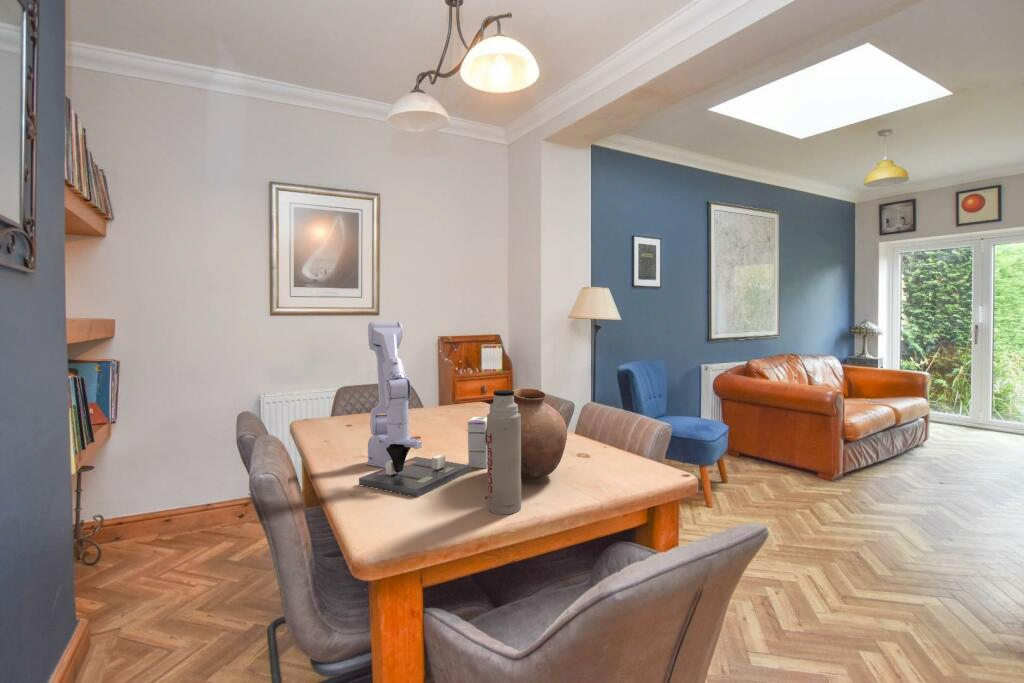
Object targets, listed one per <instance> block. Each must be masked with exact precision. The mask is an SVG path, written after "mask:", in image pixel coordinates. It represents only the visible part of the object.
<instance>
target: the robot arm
mask: <svg viewBox="0 0 1024 683" xmlns="http://www.w3.org/2000/svg"><path fill="white" fill-rule="evenodd" d="M367 325H368V326H367V337H368V339H367V340H368V346H369V350H370V351H373V352H374V353H375V357H376V365H377V368H376V369H377V387H378V404H377V405H376V406H375V407H373V408H372V409H371V411H370V415H369V416H370V417H369V418H370V420H369V426H370V427H369V428H370V430H369V431H370V434H371V436H370V437H369V439H368V441H367V462H366V463H365V464H366V465H367V466H374V467H378V468H382V469H384V468H386V462H389V461H392V462H393V465H394V469H395V472H397V473H398V472H401V471H403V466H404V462H405V461H406V460H407V459H406V458H407V456H408V453H409V452H410V450H411V449H415V450H419V449H422V440H420V439H415V438H413V437H411V436H410V430H409V429H410V428H409V426H410V425H409V424H410V423H409V417H410V416H409V400H410V399H411V393H412V392H411V390H412V388H411V387H412V386H411V382H410V378H409V377H408V375H406V371H405V367H404V362H403V360H402V359H401V358H399V354H398V349H399V348H400V346H401V343H402V340H403V332H404V330H403V324H402V323H401V321H378V322H375V321H374V322H373V321H369V323H368V324H367Z"/></svg>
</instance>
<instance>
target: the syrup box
mask: <svg viewBox="0 0 1024 683" xmlns="http://www.w3.org/2000/svg"><path fill="white" fill-rule="evenodd" d="M486 428H487V416H473V417H472V418H470V419H469V420H467V447H468V448H467V449H468V450H467V452H468V465H470V468H472V467H476V469H487V444H486V441H485V433H486Z"/></svg>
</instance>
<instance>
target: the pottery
mask: <svg viewBox="0 0 1024 683" xmlns="http://www.w3.org/2000/svg"><path fill="white" fill-rule="evenodd" d="M512 391H514V395H513V396H514V403H516V404H517V405H518V413H519V414H521V481H535V480H536V481H537V480H540V479H543V478H546V477H548V476H549V475H551V474H552V473H553V472H554V471H555V470H556V469H557V468H558V466H559V465H560V463H561V461H562V458H563V455H564V451H565V449H566V444H567V439H568V438H567V437H568V428H567V424H566V421H565V419H564V418H563V416H562V415H561V414H560V413H559V412H558V411H557V410H556V409H555V408H554V407H552V405H549V404H548V403H546V402H544V400H545V399H546V398H547V394H546V393H545V392H544V391H542V390H539V389H535V388H529V387H528V388H524V387H523V388H522V387H521V388H515V389H512ZM485 441H486V444H487V428H486V433H485Z"/></svg>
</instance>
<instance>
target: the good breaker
mask: <svg viewBox="0 0 1024 683" xmlns="http://www.w3.org/2000/svg"><path fill="white" fill-rule="evenodd" d="M431 459H432V468H433V469H440V468H442V467H444V466H445V461H446V455H444V454H438V455H435V456H433V457H432V458H431Z"/></svg>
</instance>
